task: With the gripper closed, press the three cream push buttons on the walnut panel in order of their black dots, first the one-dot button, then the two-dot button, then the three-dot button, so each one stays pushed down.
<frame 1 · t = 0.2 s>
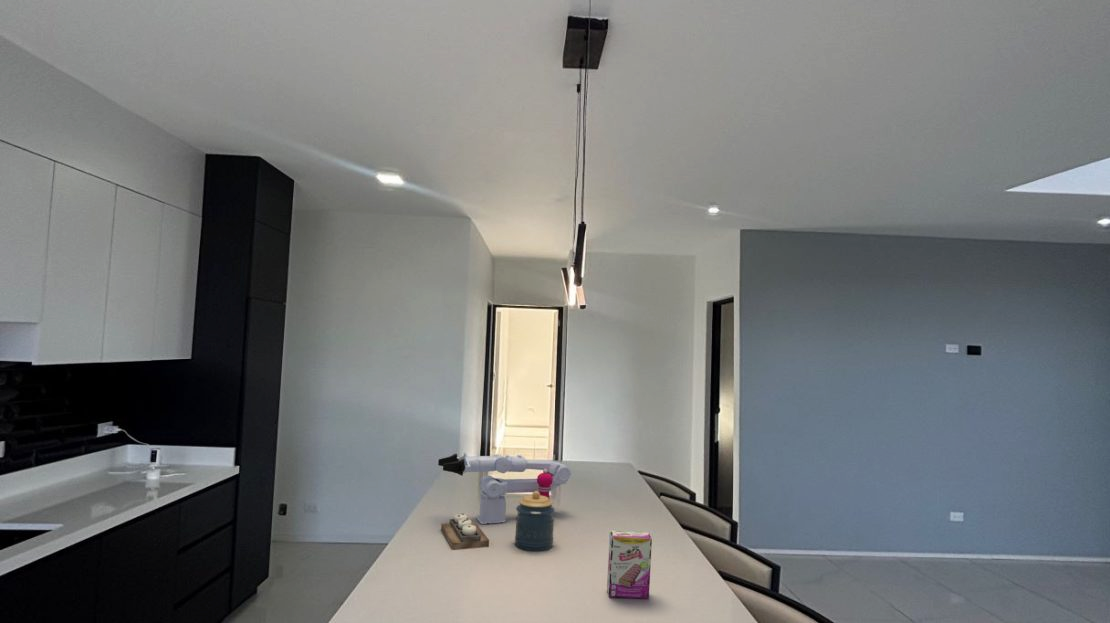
hand: (440, 464, 208), 22 cm above the countertop, tool horizontal, fingers open, 7 cm apart
button panel: (464, 537, 195), on the countertop
button three: (464, 523, 195), point 5 cm above the countertop, slide at 0.0 cm
button two: (460, 517, 201), point 5 cm above the countertop, slide at 0.0 cm
canister: (533, 545, 191), on the countertop
button one: (469, 529, 189), point 5 cm above the countertop, slide at 0.0 cm
pepper mill: (542, 522, 215), on the countertop
candy bar box: (627, 595, 156), on the countertop
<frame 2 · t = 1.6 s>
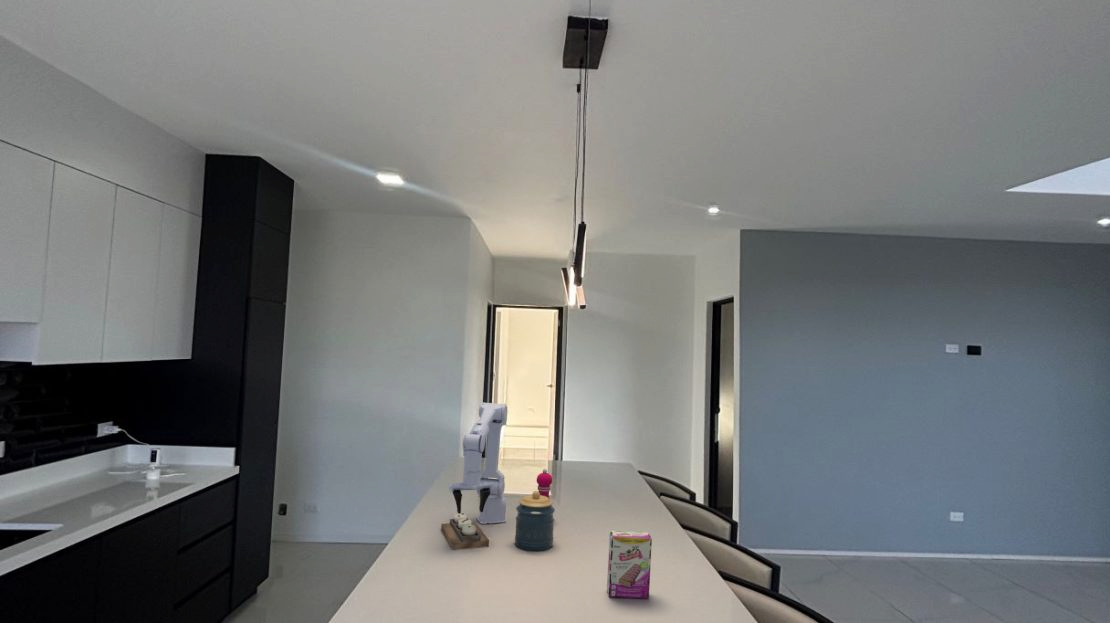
hand: (470, 512, 189), 10 cm above the countertop, tool pointing down, fingers open, 7 cm apart
nothing on the countertop moved.
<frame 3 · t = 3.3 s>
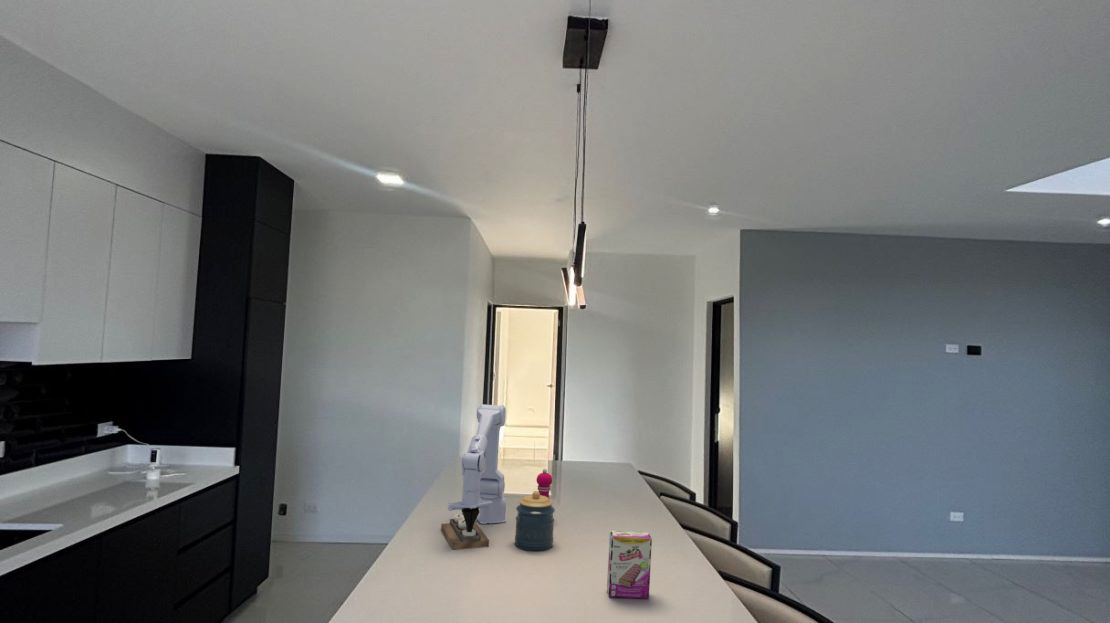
hand: (469, 531, 189), 4 cm above the countertop, tool pointing down, fingers closed, pressing on button one
button one: (468, 534, 189), point 3 cm above the countertop, slide at 1.5 cm, touching gripper
everything else where it was.
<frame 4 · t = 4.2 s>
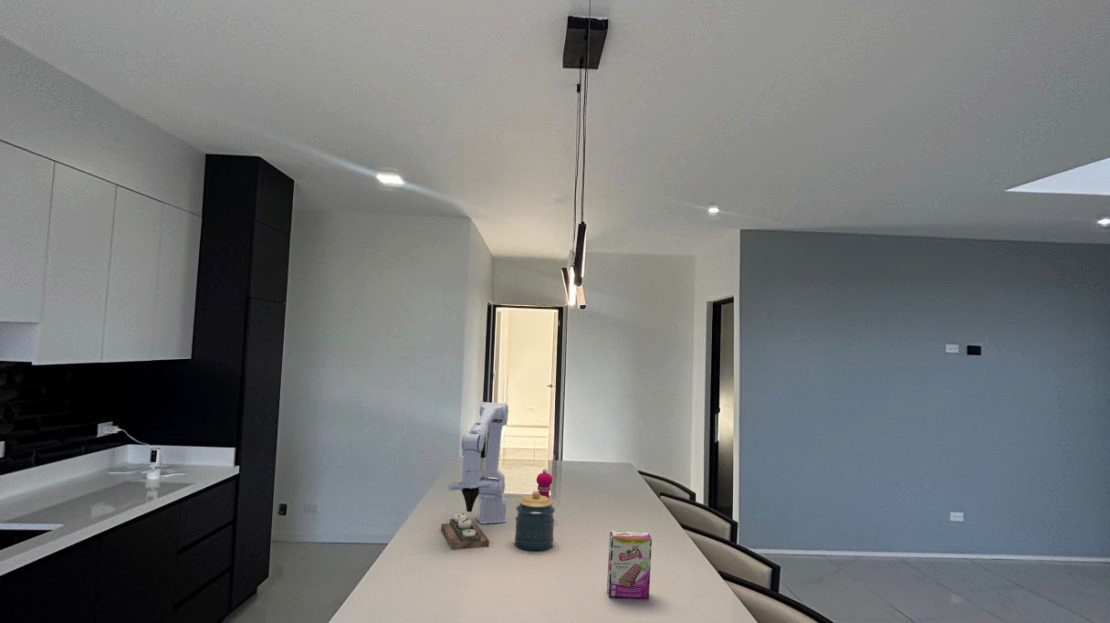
hand: (469, 511, 191), 10 cm above the countertop, tool pointing down, fingers closed
button one: (468, 534, 189), point 3 cm above the countertop, slide at 1.5 cm
everything else where it was.
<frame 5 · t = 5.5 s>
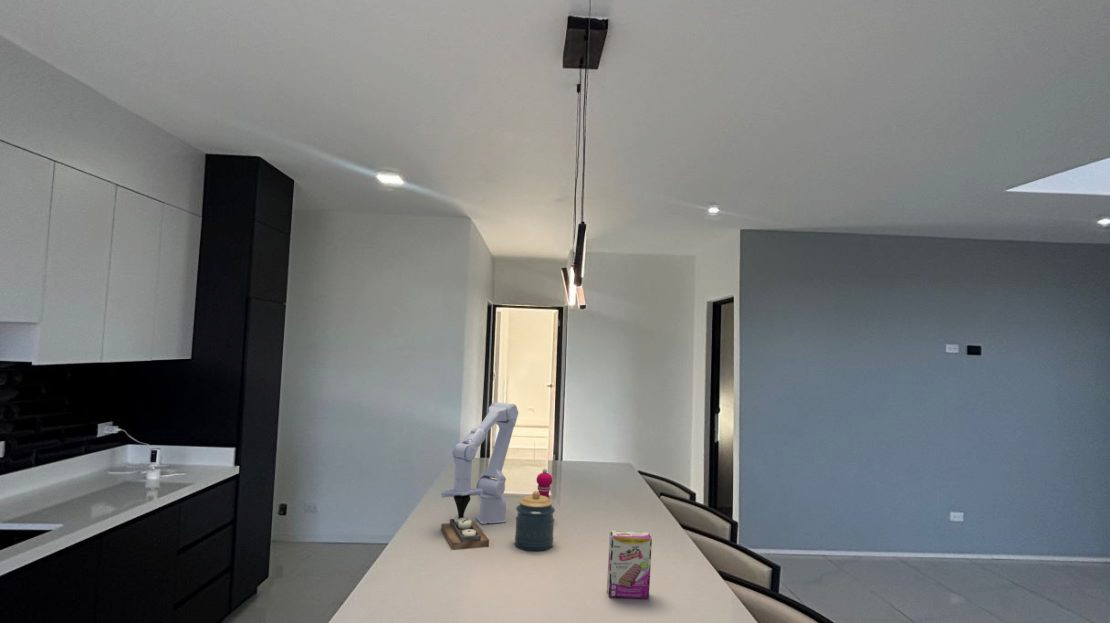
hand: (460, 516, 201), 5 cm above the countertop, tool pointing down, fingers closed, pressing on button two
button two: (460, 519, 201), point 4 cm above the countertop, slide at 0.7 cm, touching gripper
everything else where it was.
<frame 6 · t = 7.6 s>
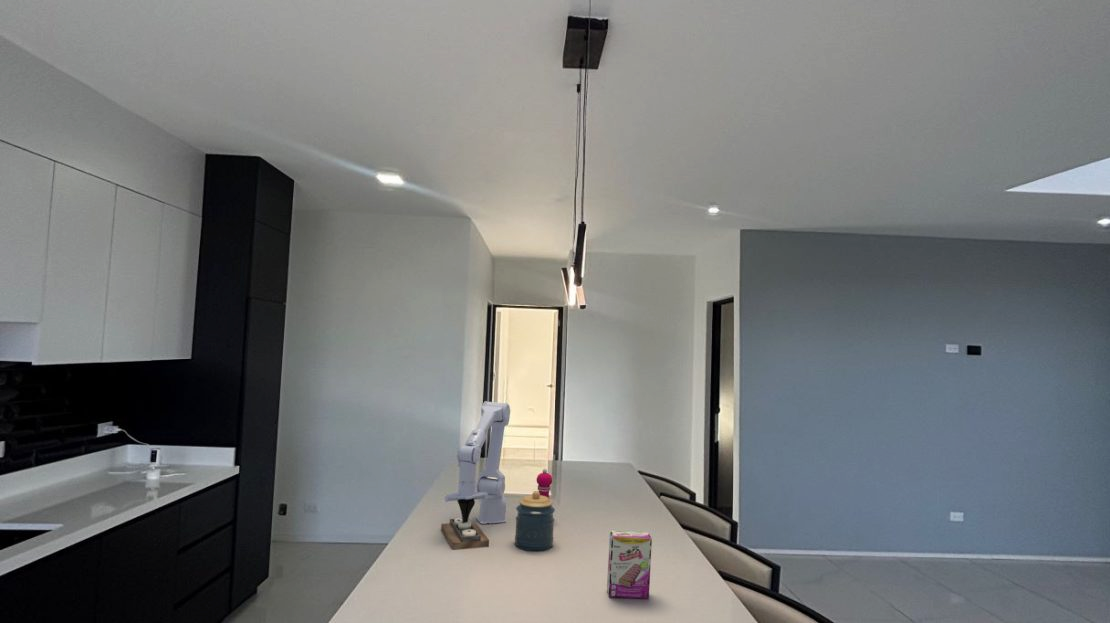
hand: (464, 521, 195), 5 cm above the countertop, tool pointing down, fingers closed, pressing on button three
button three: (464, 524, 195), point 4 cm above the countertop, slide at 0.3 cm, touching gripper
button two: (460, 522, 201), point 3 cm above the countertop, slide at 1.5 cm
everything else where it was.
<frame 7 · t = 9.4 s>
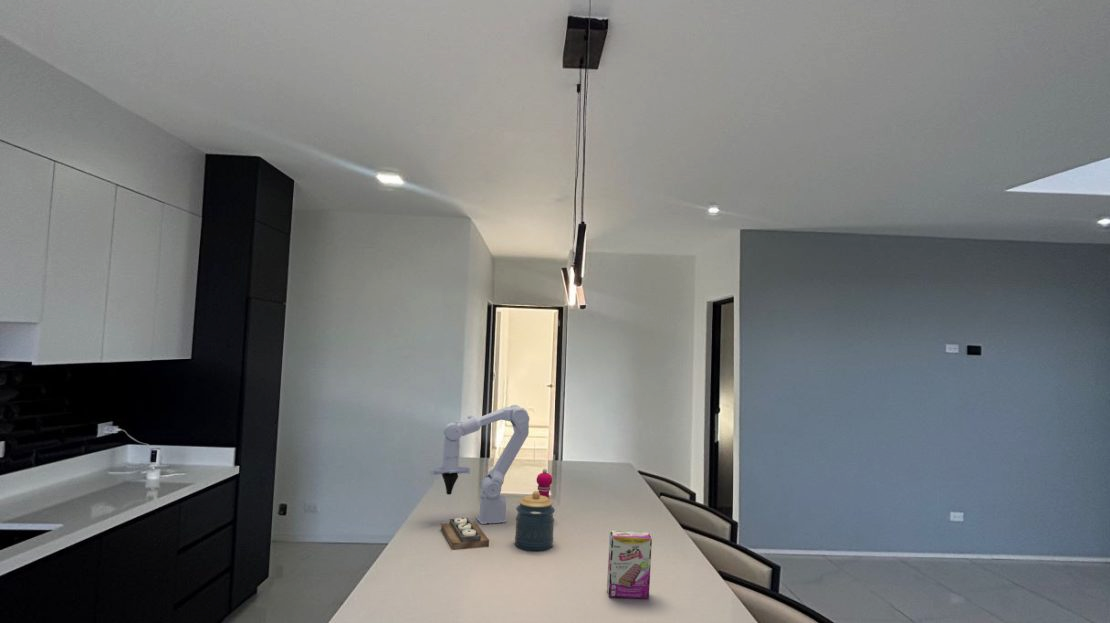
hand: (448, 493, 210), 10 cm above the countertop, tool pointing down, fingers closed
button three: (464, 528, 195), point 3 cm above the countertop, slide at 1.5 cm
everything else where it was.
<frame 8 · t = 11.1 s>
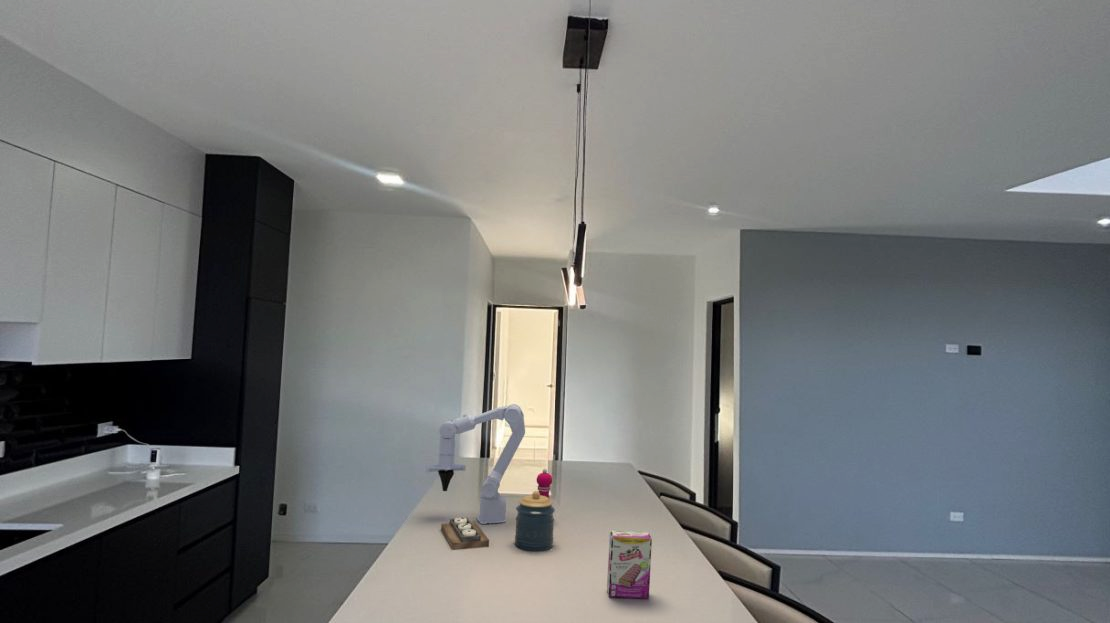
hand: (444, 490, 215), 10 cm above the countertop, tool pointing down, fingers closed
nothing on the countertop moved.
at the end: button one slide at 1.5 cm; button two slide at 1.5 cm; button three slide at 1.5 cm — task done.
